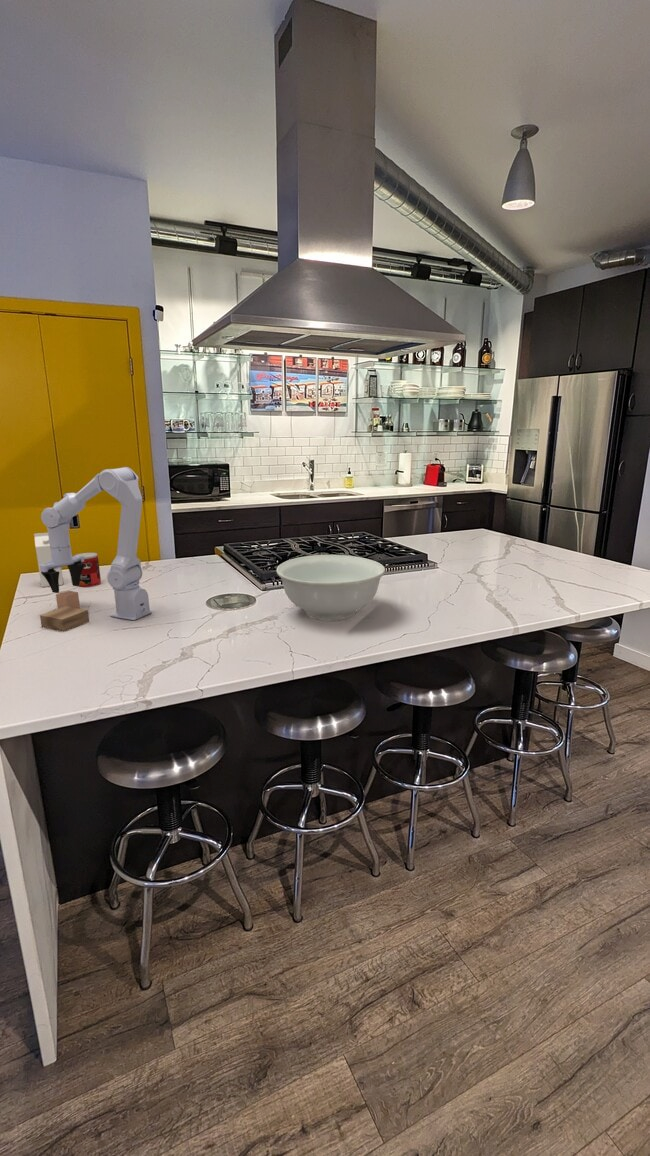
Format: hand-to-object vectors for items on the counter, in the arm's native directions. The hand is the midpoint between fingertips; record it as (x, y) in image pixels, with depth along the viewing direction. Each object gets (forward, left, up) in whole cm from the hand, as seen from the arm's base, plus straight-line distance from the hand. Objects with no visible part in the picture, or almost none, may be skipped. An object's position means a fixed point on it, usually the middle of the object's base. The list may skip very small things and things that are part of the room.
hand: (66, 589), depth 172 cm
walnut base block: (-10, +10, -7) cm, 16 cm away
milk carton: (+30, -19, -7) cm, 36 cm away
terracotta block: (0, 0, -7) cm, 7 cm away
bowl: (-77, -30, -7) cm, 83 cm away
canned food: (+17, -24, -7) cm, 30 cm away
